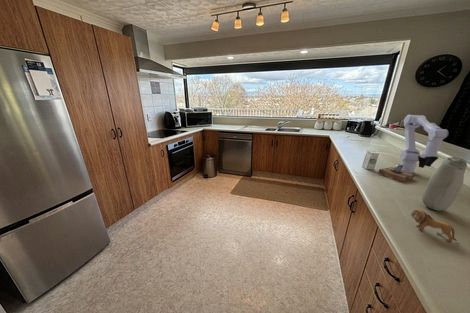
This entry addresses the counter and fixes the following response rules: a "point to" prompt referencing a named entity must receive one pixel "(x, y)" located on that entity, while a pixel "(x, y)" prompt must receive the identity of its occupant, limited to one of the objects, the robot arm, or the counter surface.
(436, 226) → the lion figurine
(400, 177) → the bead block
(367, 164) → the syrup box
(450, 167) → the white vase
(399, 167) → the grey cylinder
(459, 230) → the counter surface
